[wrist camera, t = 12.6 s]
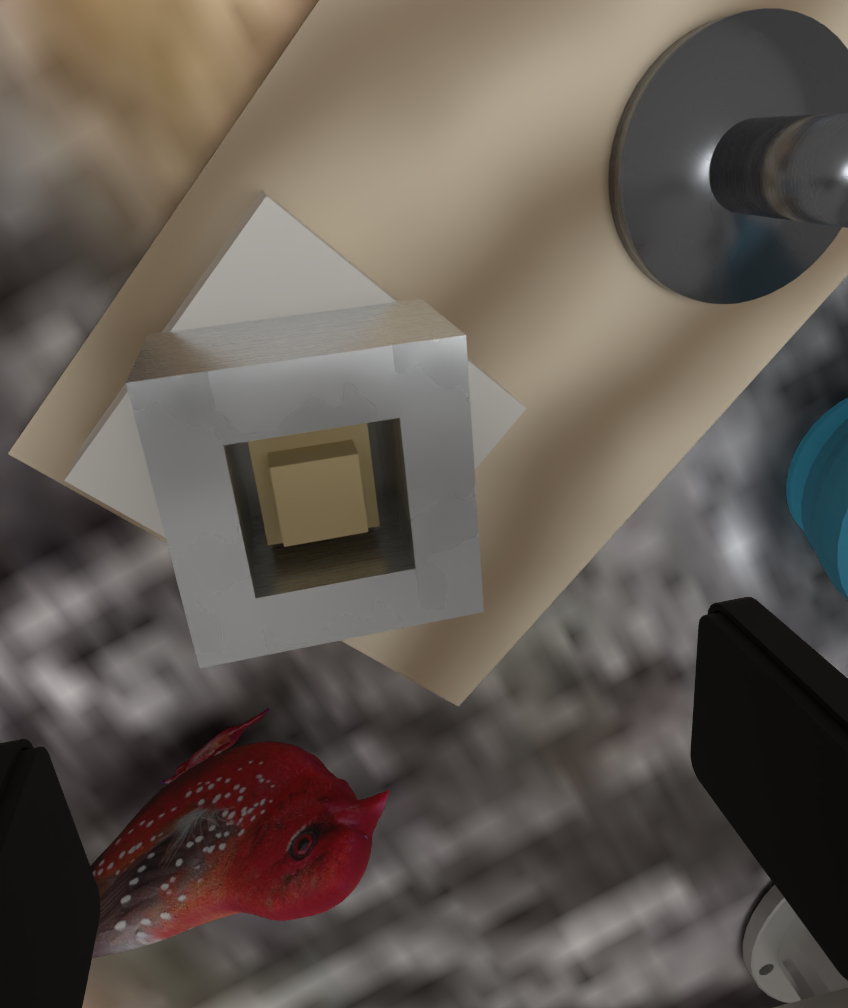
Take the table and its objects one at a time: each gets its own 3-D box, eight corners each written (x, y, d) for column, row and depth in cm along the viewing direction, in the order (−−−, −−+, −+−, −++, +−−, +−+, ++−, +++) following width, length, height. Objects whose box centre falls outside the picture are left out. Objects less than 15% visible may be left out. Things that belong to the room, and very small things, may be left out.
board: (932, 140, 27) (969, 139, 26) (449, 683, 32) (458, 706, 30) (580, -380, 19) (606, -419, 18) (20, 436, 24) (7, 453, 23)
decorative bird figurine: (375, 666, 31) (433, 877, 22) (20, 913, 32) (-62, 1209, 23) (331, 618, 29) (373, 822, 20) (-37, 877, 31) (-148, 1177, 22)
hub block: (495, 380, 25) (581, 457, 19) (327, 586, 27) (354, 718, 21) (262, 189, 22) (274, 207, 15) (83, 442, 23) (29, 550, 17)
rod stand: (892, 148, 25) (1063, 148, 20) (716, 347, 27) (833, 396, 21) (747, -57, 22) (906, -120, 17) (555, 185, 23) (647, 196, 18)
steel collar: (421, 298, 21) (465, 335, 17) (441, 533, 24) (483, 611, 20) (147, 334, 20) (125, 382, 16) (205, 576, 23) (199, 668, 19)
